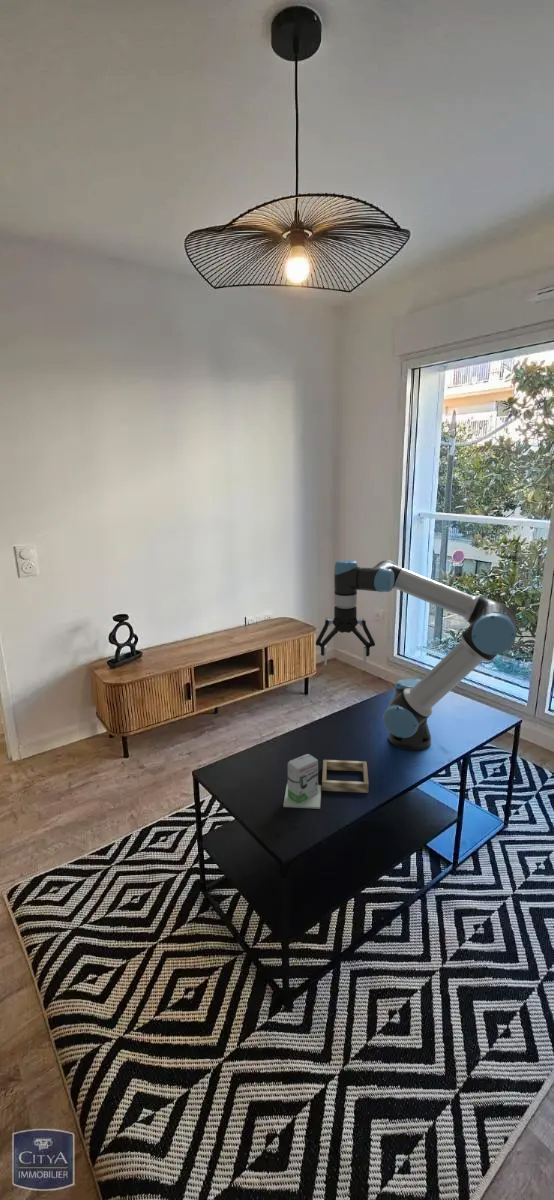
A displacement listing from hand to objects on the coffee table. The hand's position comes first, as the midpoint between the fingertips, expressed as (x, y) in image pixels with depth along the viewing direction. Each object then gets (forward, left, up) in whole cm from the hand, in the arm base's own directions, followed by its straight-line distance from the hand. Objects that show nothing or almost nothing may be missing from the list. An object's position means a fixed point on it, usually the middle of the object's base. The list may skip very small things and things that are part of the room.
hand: (344, 664), depth 179 cm
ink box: (+13, +31, -31) cm, 46 cm away
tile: (+13, +31, -32) cm, 46 cm away
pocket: (0, +21, -32) cm, 38 cm away
